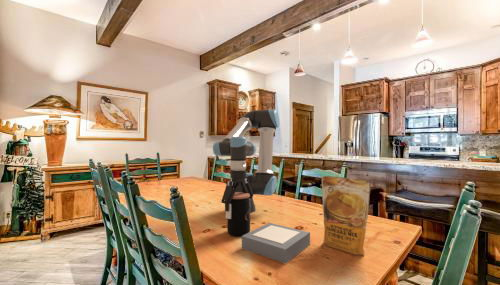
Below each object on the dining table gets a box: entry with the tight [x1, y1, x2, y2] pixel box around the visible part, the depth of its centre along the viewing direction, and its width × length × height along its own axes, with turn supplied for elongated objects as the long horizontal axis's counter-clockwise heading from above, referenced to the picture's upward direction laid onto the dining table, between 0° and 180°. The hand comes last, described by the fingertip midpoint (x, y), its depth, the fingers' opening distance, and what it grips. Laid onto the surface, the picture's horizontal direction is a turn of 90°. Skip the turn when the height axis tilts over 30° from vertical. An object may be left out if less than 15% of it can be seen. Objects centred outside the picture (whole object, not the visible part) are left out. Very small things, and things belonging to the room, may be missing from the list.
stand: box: [241, 222, 311, 265], centre depth 96 cm, size 20×20×5 cm
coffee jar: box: [226, 192, 251, 238], centre depth 112 cm, size 11×11×18 cm
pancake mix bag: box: [320, 175, 372, 256], centre depth 95 cm, size 7×19×28 cm, turn 45°
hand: (238, 215), depth 111 cm, fingers open, 13 cm apart
